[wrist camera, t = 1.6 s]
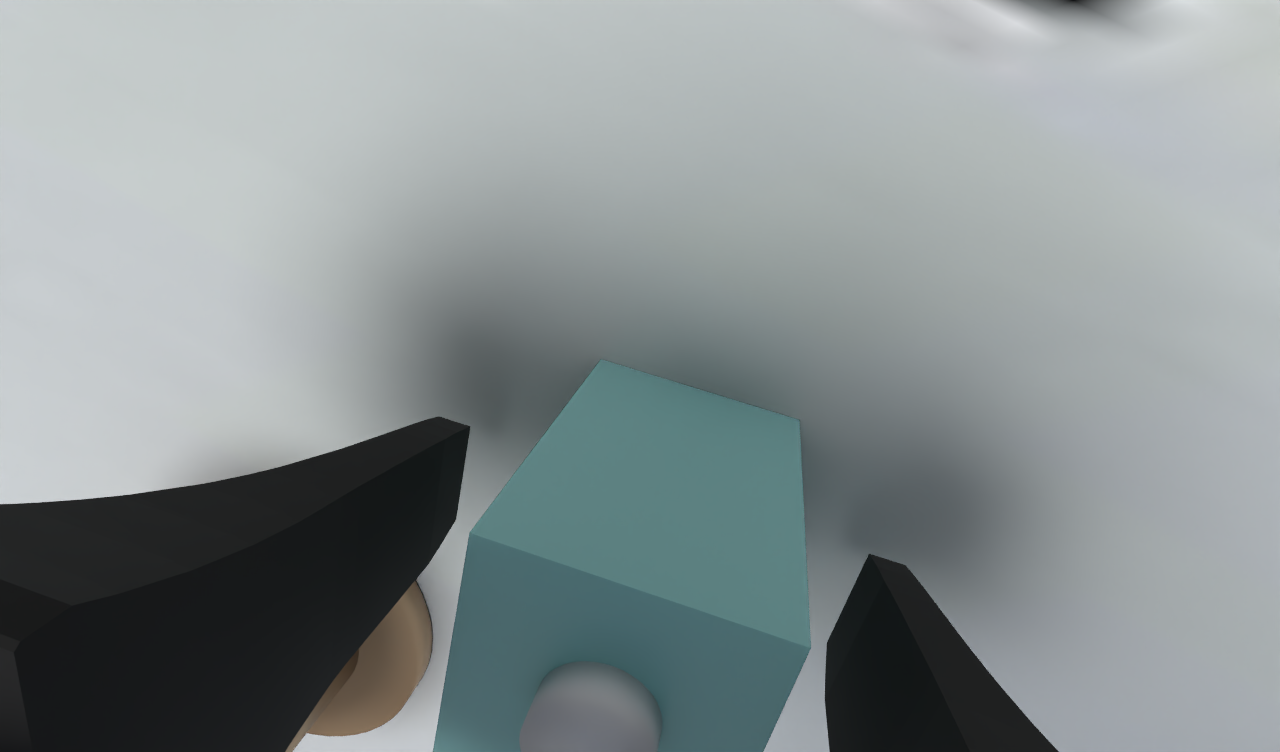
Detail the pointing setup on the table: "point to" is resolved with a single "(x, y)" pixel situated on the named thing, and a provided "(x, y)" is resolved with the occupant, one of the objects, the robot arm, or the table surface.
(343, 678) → the spool
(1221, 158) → the table surface
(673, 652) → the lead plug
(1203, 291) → the table surface
